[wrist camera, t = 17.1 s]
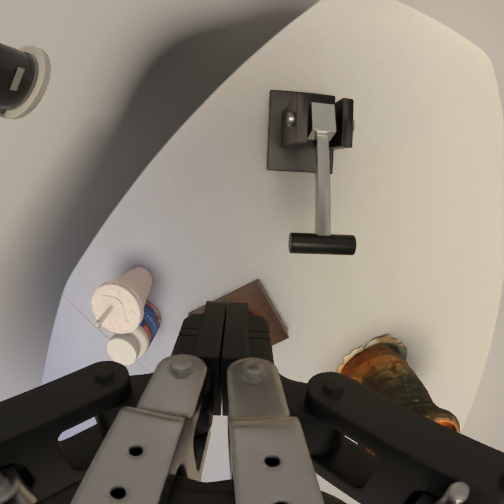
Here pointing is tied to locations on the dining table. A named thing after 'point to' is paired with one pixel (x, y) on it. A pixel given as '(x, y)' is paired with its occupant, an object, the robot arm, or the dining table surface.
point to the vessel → (393, 378)
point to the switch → (322, 190)
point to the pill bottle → (135, 338)
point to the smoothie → (122, 301)
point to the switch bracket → (302, 130)
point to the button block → (256, 308)
